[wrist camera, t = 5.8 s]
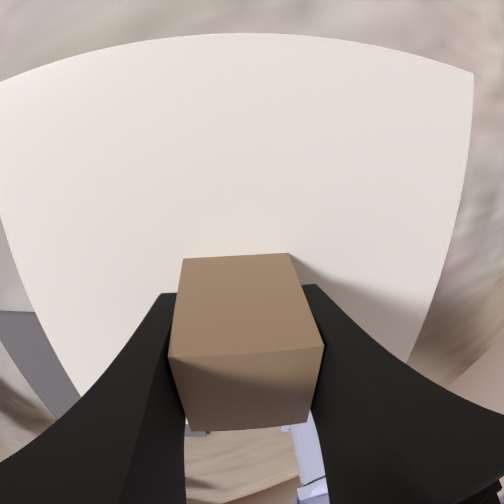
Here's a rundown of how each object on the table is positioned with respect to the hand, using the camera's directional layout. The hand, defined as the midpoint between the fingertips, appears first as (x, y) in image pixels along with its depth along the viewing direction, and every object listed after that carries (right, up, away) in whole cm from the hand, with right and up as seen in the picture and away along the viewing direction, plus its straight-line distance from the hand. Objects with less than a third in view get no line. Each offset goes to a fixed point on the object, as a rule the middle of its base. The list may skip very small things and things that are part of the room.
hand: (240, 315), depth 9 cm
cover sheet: (0, +1, +2) cm, 2 cm away
